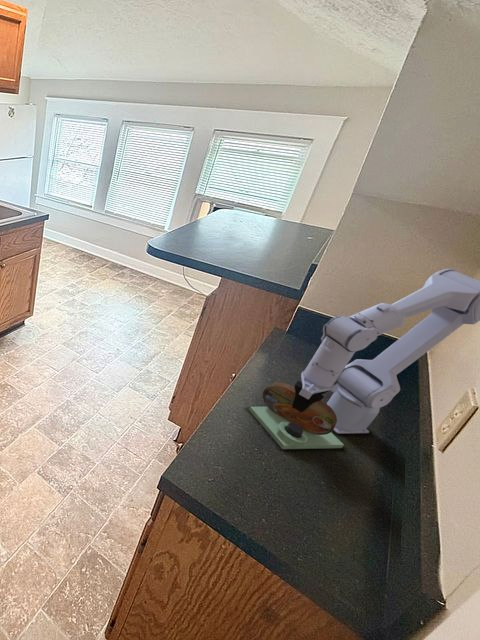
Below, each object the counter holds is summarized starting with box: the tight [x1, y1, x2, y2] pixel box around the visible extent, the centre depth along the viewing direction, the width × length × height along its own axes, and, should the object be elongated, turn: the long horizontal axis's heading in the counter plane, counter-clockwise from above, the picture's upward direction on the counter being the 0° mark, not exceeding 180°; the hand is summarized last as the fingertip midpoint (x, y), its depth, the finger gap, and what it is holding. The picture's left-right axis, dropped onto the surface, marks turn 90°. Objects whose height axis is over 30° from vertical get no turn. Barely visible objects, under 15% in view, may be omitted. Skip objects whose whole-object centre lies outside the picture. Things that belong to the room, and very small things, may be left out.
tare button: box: [285, 423, 303, 438], centre depth 90 cm, size 3×3×2 cm
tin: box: [262, 381, 337, 435], centre depth 94 cm, size 15×3×8 cm, turn 38°
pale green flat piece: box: [248, 406, 345, 450], centre depth 95 cm, size 16×12×3 cm
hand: (299, 406), depth 94 cm, fingers closed on tin, 2 cm apart
